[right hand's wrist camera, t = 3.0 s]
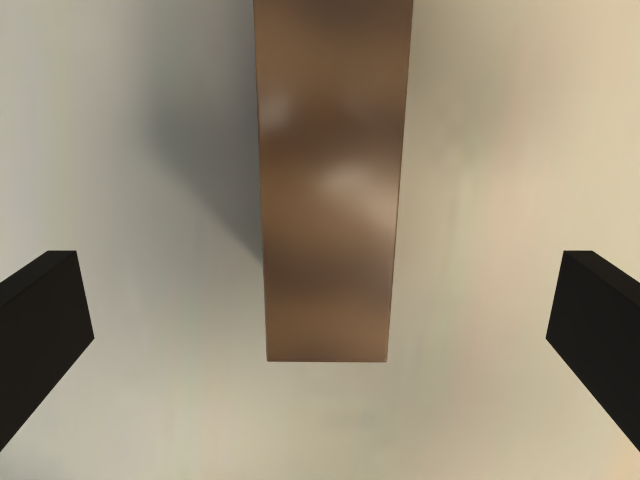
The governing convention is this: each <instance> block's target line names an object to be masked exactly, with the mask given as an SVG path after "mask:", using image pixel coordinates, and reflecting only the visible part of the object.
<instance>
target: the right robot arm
mask: <svg viewBox="0 0 640 480" xmlns="http://www.w3.org/2000/svg"><path fill="white" fill-rule="evenodd" d="M93 339H94V334H93V329H92V324H91V320H90V315H89V310H88V305H87V300H86V295H85V291H84V286H83V281H82V276H81V271H80V266H79V262H78V257H77V252H76V251H47V252H45V253H44V254H42V255H41V256H39V257H38V258H36V259H35V260H33V261H32V262H30V263H29V264H27V265H26V266H24V267H23V268H21V269H20V270H18V271H17V272H16V273H14V274H13V275H11V276H10V277H8V278H7V279H5V280H4V281H2V282H1V283H0V452H1V450H2V449H3V448H4V447H5V446H6V444H7V443H8V442H9V441H10V440H11V438H12V437H13V436H14V435H15V434H16V432H17V431H18V430H19V429H20V428H21V426H22V425H23V424H24V423H25V422H26V420H27V419H28V418H29V417H30V415H31V414H32V413H33V412H34V411H35V409H36V408H37V407H38V406H39V405H40V403H41V402H42V401H43V400H44V399H45V397H46V396H47V395H48V394H49V393H50V391H51V390H52V389H53V388H54V387H55V385H56V384H57V383H58V382H59V380H60V379H61V378H62V377H63V376H64V374H65V373H66V372H67V371H68V370H69V368H70V367H71V366H72V365H73V364H74V362H75V361H76V360H77V359H78V358H79V356H80V355H81V354H82V353H83V352H84V350H85V349H86V348H87V347H88V346H89V344H90V343H91V342H92V341H93ZM546 339H547V341H548V342H549V343H550V344H551V346H552V347H553V348H554V349H555V350H556V352H557V353H558V354H559V355H560V356H561V358H562V359H563V360H564V361H565V362H566V364H567V365H568V366H569V367H570V368H571V370H572V371H573V372H574V373H575V374H576V376H577V377H578V378H579V379H580V380H581V382H582V383H583V384H584V385H585V387H586V388H587V389H588V390H589V391H590V393H591V394H592V395H593V396H594V397H595V399H596V400H597V401H598V402H599V403H600V405H601V406H602V407H603V408H604V409H605V411H606V412H607V413H608V414H609V415H610V417H611V418H612V419H613V420H614V422H615V423H616V424H617V425H618V426H619V428H620V429H621V430H622V431H623V432H624V434H625V435H626V436H627V437H628V438H629V440H630V441H631V442H632V443H633V444H634V446H635V447H636V448H637V449H638V450H639V452H640V283H639V282H638V281H636V280H635V279H633V278H632V277H630V276H629V275H627V274H626V273H624V272H623V271H622V270H620V269H619V268H617V267H616V266H614V265H613V264H611V263H610V262H608V261H607V260H605V259H604V258H602V257H601V256H599V255H598V254H596V253H595V252H593V251H564V252H563V257H562V262H561V266H560V271H559V276H558V281H557V286H556V291H555V295H554V300H553V305H552V310H551V315H550V320H549V324H548V329H547V334H546Z"/></svg>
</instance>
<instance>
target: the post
mask: <svg viewBox="0 0 640 480" xmlns="http://www.w3.org/2000/svg"><path fill="white" fill-rule="evenodd" d="M253 5H254V32H255V59H256V85H257V112H258V139H259V166H260V192H261V219H262V246H263V273H264V299H265V326H266V353H267V361H268V362H386V361H387V351H388V338H389V324H390V311H391V297H392V284H393V270H394V257H395V243H396V229H397V216H398V202H399V189H400V175H401V162H402V148H403V135H404V121H405V108H406V94H407V81H408V67H409V54H410V40H411V27H412V13H413V0H253Z"/></svg>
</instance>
